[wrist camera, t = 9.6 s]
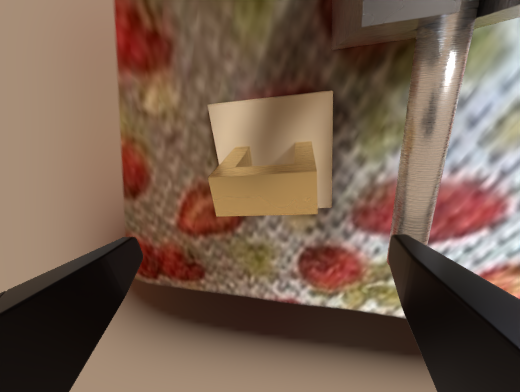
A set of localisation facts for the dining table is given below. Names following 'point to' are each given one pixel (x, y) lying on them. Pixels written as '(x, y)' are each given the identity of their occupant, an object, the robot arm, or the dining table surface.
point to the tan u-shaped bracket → (265, 185)
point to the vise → (421, 84)
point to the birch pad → (279, 132)
